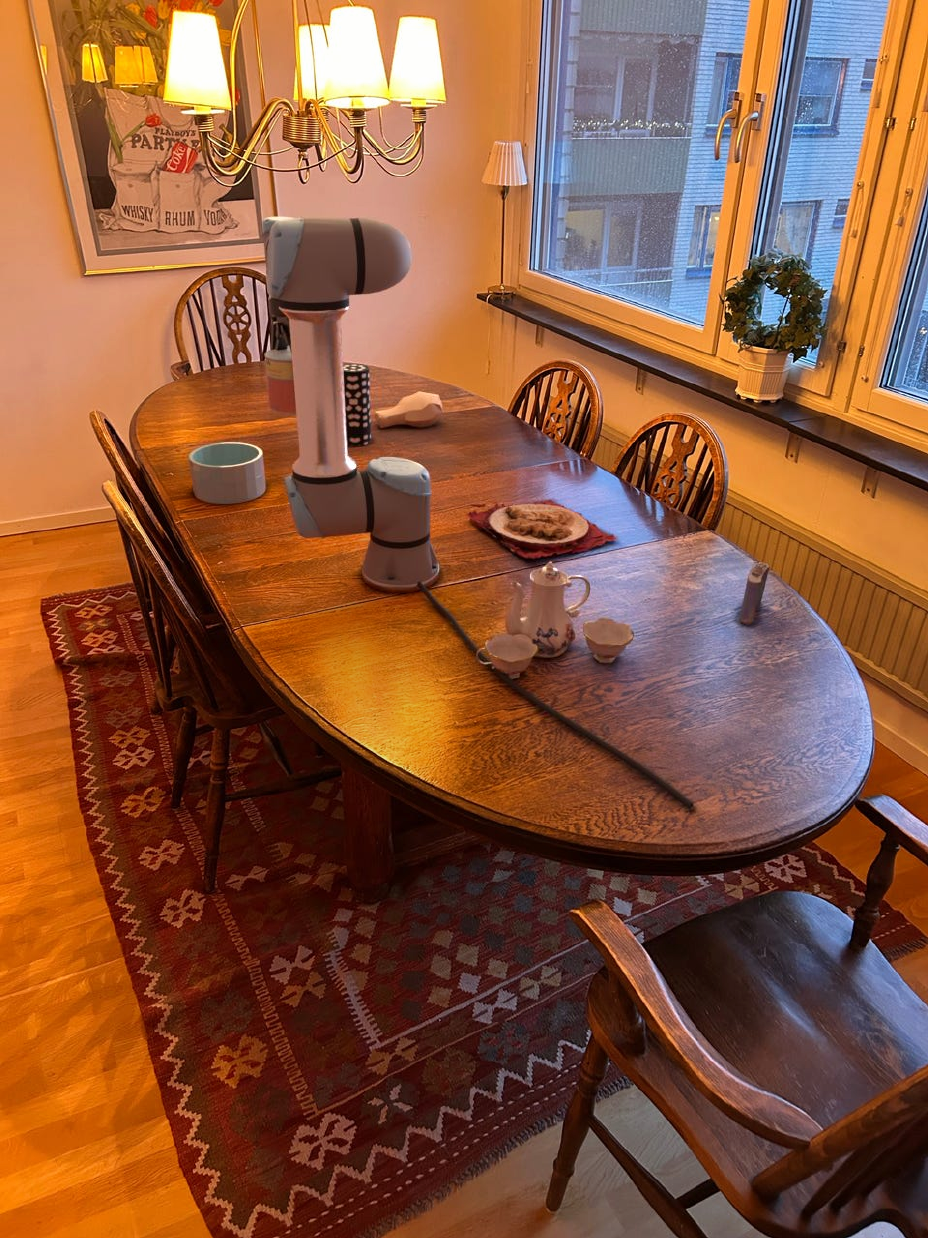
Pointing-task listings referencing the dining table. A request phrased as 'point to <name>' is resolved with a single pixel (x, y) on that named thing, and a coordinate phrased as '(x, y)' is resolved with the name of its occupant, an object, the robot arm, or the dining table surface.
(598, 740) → the robot arm
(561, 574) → the chinaware
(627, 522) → the dining table surface
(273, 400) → the canned food
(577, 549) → the plate with food
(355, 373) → the white-spotted black cylinder
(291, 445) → the dining table surface
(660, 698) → the dining table surface
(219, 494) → the pot
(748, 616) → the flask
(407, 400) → the squash
